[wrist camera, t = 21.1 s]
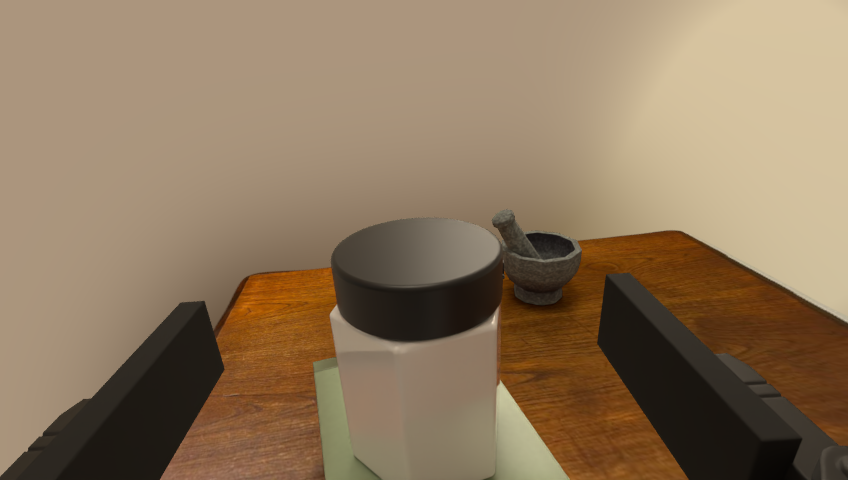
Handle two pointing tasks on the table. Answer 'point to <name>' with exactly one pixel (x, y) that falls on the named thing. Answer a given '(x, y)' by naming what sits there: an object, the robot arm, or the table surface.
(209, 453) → the table surface
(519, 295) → the mortar and pestle
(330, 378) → the olive green cubby
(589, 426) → the table surface
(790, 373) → the table surface
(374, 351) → the jar
